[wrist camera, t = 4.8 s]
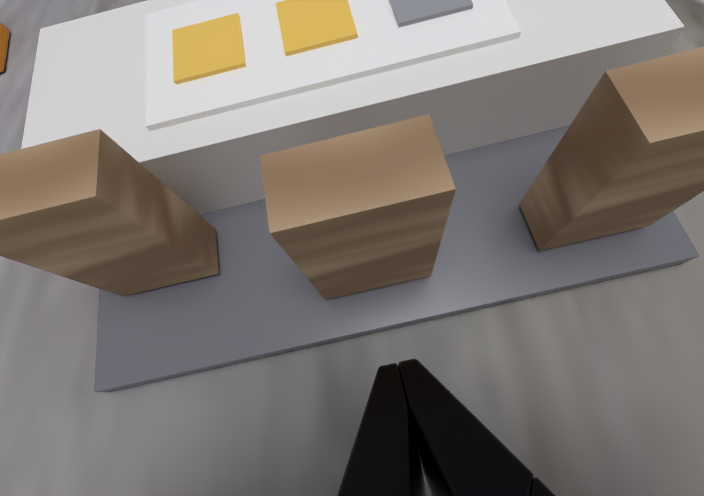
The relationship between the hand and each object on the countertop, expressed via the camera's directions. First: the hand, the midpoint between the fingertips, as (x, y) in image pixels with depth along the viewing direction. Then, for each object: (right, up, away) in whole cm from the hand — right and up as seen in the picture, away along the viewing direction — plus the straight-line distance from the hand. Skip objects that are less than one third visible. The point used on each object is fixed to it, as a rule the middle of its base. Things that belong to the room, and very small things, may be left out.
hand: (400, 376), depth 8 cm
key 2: (-10, +2, +11) cm, 15 cm away
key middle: (0, +2, +9) cm, 10 cm away
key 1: (+10, +4, +9) cm, 14 cm away
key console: (-1, +7, +13) cm, 15 cm away
